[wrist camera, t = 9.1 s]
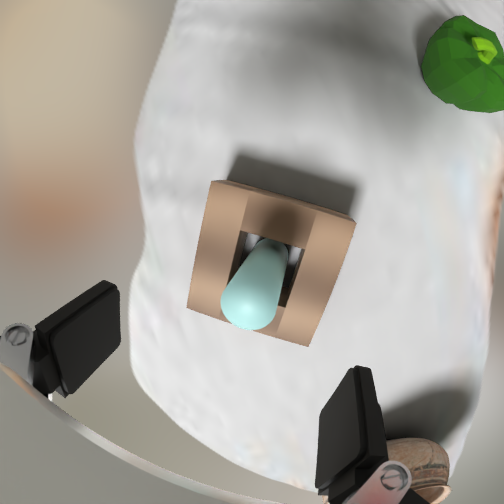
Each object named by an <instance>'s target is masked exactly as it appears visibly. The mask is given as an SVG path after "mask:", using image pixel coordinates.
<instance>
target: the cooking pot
mask: <svg viewBox="0 0 504 504" xmlns="http://www.w3.org/2000/svg"><path fill="white" fill-rule="evenodd" d="M386 443H387V450H388V458H389V461H398V462H401V463H402V464H404V465H405V466H406V467H407V468H408V469H409V471H410V473H411V477H412V481H411V485H410V488H411V489H412V490H414V491H415V492H416V493H417V494H419V495H420V496H421V497H422V498H424V499H425V500H426V501H427V502H429V503H430V504H439V503H440V502H441V501H443V500H444V499H445V498H446V497H447V496H448V495H449V494H450V492H451V487H450V486H448V485H447V482H448V477H449V466H450V464H449V458H448V454H447V453H446V451H445V450H444V449H443V448H442V447H441V446H440V445H439V444H437V443H435V442H433V441H431V440H428V439H423V438H401V439H394V440H386ZM322 497H323V503H324V504H328V503H329V502H328V496H323V495H322Z"/></svg>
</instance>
